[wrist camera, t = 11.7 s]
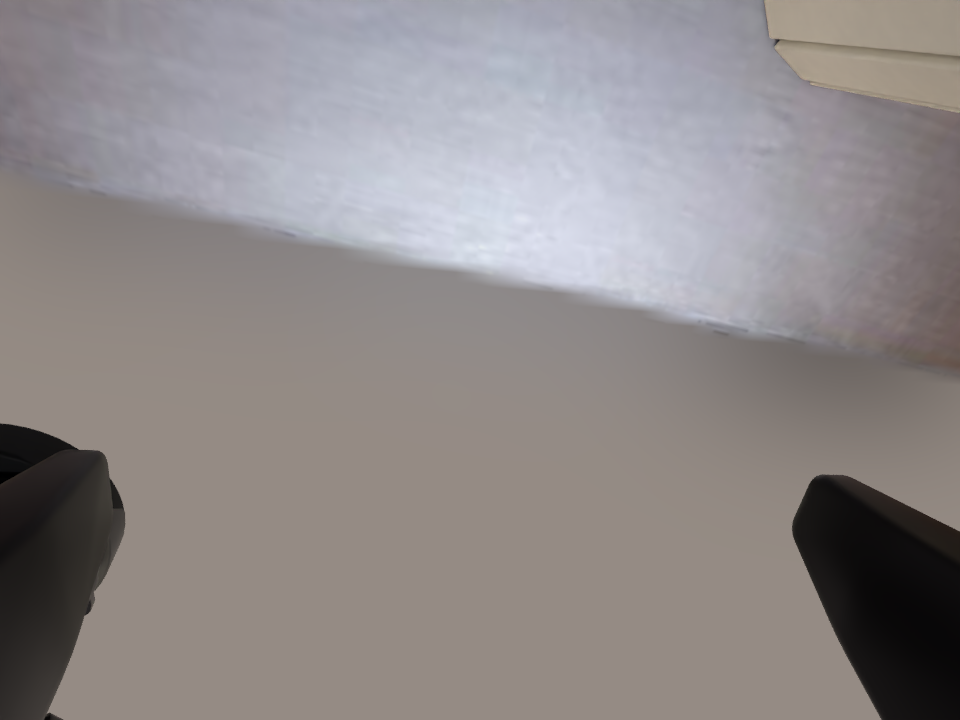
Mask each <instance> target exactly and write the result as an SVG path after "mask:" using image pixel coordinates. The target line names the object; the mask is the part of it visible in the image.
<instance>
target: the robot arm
mask: <svg viewBox="0 0 960 720" xmlns="http://www.w3.org/2000/svg"><path fill="white" fill-rule="evenodd" d="M112 521H113V503H112V495H111V487H110V479H109V471H108V463H107V459H106V457H105V455H104V454H103V453H102V452H100V451H93V450H62V451H60V452H58V453H55V454H54V455H52V456H50V457H48V458H47V459H45V460H43V461H41V462H39V463H38V464H36V465H34V466H32V467H31V468H29V469H27V470H25V471H23V472H0V720H63V719H61V718H59V717H57V716H55V715H53V714H51V713H48V714H47V711H48V709H49V707H50V705H51V703H52V700H53V698H54V696H55V693H56V691H57V689H58V686H59V685H60V682H61V680H62V678H63V675H64V673H65V670H66V668H67V665H68V663H69V661H70V658H71V655H72V653H73V650H74V647H75V644H76V641H77V638H78V635H79V632H80V629H81V625H82V622H83V619H84V616H85V615H86V614H88V613H89V612H90V611H91V609H92V607H93V604H94V601H95V597H94V590H95V588H96V586H97V583H98V574H97V573H98V570H99V567H100V564H101V560H102V557H103V554H104V551H105V547H106V544H107V541H108V538H109V534H110V531H111V527H112ZM792 531H793V537H794V540H795V543H796V545H797V547H798V549H799V552H800V554H801V556H802V559H803V561H804V563H805V566H806V568H807V570H808V572H809V575H810V577H811V579H812V581H813V584H814V586H815V588H816V591H817V593H818V595H819V598H820V600H821V602H822V605H823V607H824V609H825V612H826V614H827V616H828V618H829V621H830V623H831V625H832V627H833V629H834V632H835V634H836V636H837V638H838V640H839V642H840V644H841V646H842V647H843V650H844V652H845V654H846V656H847V657H848V659H849V661H850V663H851V665H852V666H853V668H854V670H855V672H856V674H857V676H858V678H859V679H860V681H861V683H862V685H863V686H864V688H865V690H866V692H867V694H868V696H869V697H870V699H871V701H872V703H873V705H874V707H875V709H876V710H877V712H878V714H879V716H880V718H881V720H960V532H959V531H957V530H955V529H953V528H951V527H949V526H947V525H945V524H943V523H941V522H939V521H937V520H935V519H933V518H931V517H929V516H927V515H925V514H923V513H921V512H919V511H917V510H915V509H913V508H911V507H909V506H907V505H905V504H903V503H901V502H899V501H897V500H895V499H893V498H891V497H889V496H887V495H885V494H883V493H881V492H879V491H877V490H875V489H873V488H871V487H869V486H867V485H865V484H863V483H861V482H859V481H857V480H855V479H853V478H851V477H848V476H844V475H819V476H816V477H815V478H814V479H813V480H812V481H811V483H810V484H809V486H808V489H807V491H806V493H805V495H804V497H803V499H802V502H801V504H800V506H799V508H798V511H797V513H796V515H795V517H794V520H793V525H792Z"/></svg>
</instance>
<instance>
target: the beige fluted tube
mask: <svg viewBox="0 0 960 720" xmlns="http://www.w3.org/2000/svg"><path fill="white" fill-rule="evenodd" d="M764 4H765V11H766V18H767V24H768V31H769V36H770V38H772V39H780V41H779V42H778V43H777V44H776V45H775V50H776V51H777V52H778V53H779V54H780V55H781V57H782V58H783V59H784V60H785V61H786V62H787V63H788V64H789V66H790V67H791V68H792V69H793V70H794V71H795V72H796V73H797V75H798V76H799V77H800V78H801V79H803V80H808V81H810V84H811V85H814V86H820V87H825V88H830V89H835V90H841V91H846V92H851V93H857V94H862V95H867V96H872V97H878V98H883V99H888V100H893V101H899V102H904V103H909V104H915V105H920V106H925V107H930V108H936V109H941V110H946V111H952V112H957V113H960V0H764Z"/></svg>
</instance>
